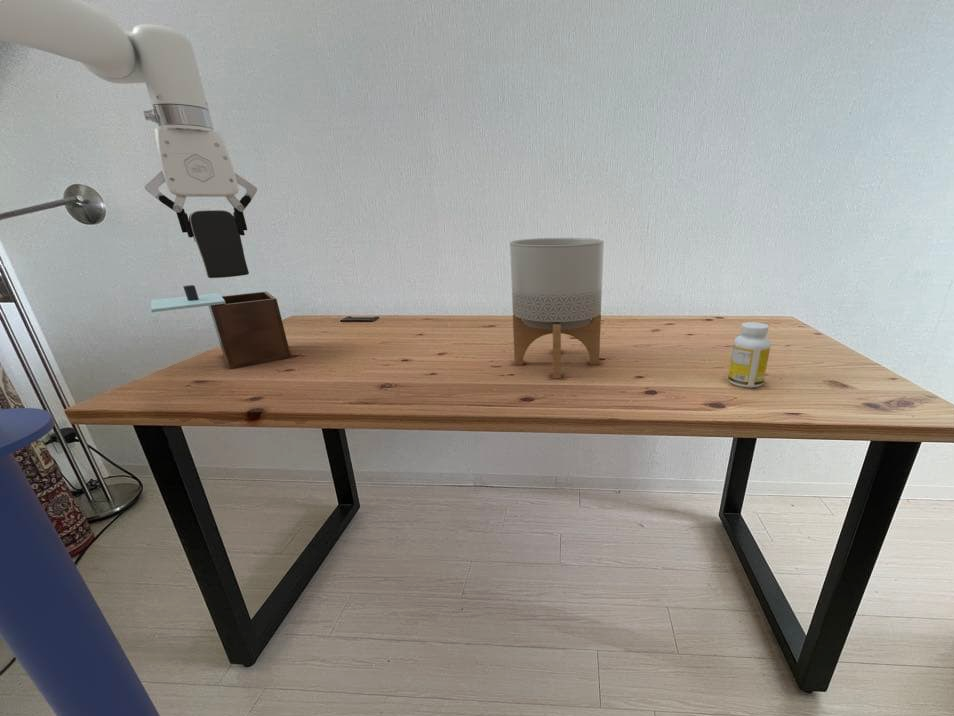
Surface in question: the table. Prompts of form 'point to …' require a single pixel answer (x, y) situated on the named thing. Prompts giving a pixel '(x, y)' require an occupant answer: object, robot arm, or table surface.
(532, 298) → the planter
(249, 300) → the brown wooden box
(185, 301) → the lid
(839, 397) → the table surface
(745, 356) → the pill bottle
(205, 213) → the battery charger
